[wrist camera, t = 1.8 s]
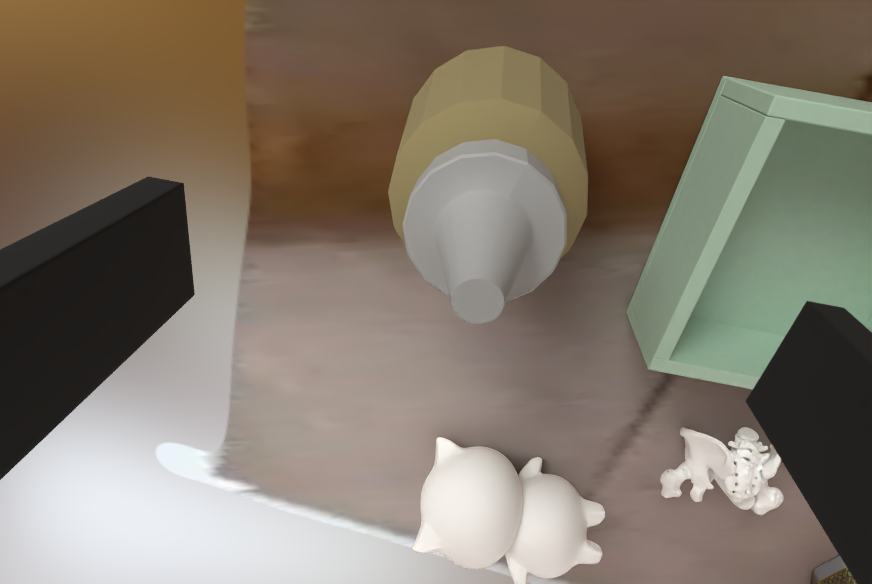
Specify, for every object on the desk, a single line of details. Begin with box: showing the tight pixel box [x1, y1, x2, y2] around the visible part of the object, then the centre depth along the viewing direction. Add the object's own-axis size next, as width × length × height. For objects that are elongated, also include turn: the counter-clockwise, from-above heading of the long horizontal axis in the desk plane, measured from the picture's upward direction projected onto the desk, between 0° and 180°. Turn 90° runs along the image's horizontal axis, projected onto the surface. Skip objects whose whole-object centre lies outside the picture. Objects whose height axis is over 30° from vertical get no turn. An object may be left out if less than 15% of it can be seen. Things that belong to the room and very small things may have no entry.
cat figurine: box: [412, 437, 605, 584], centre depth 37 cm, size 9×11×12 cm
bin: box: [626, 76, 872, 389], centre depth 25 cm, size 14×14×6 cm
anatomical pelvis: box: [660, 427, 784, 515], centre depth 34 cm, size 8×4×7 cm
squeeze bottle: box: [388, 46, 588, 324], centre depth 19 cm, size 8×8×18 cm
